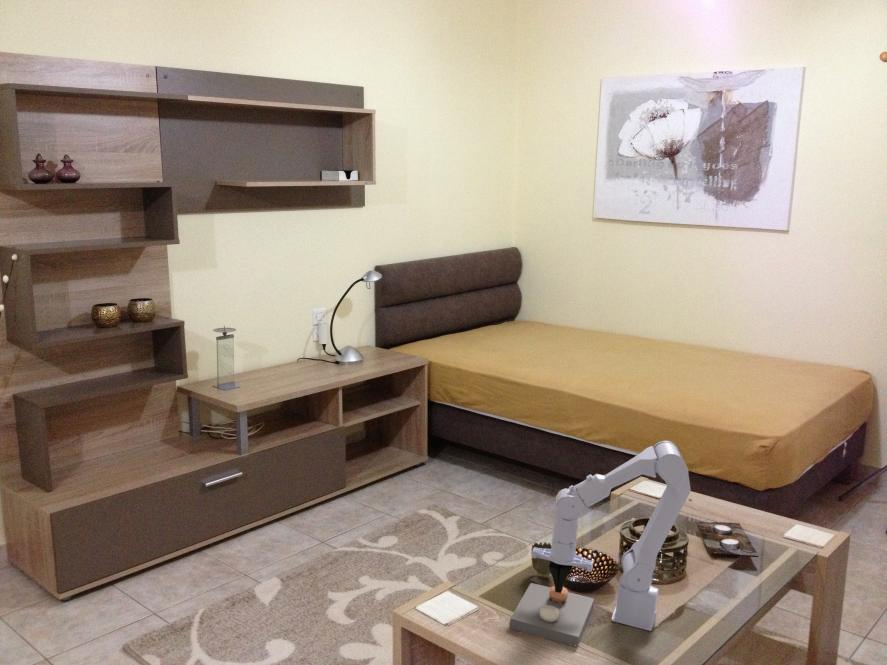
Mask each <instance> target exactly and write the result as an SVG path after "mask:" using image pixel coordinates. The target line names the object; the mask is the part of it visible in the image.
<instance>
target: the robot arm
mask: <svg viewBox="0 0 887 665" xmlns="http://www.w3.org/2000/svg"><path fill="white" fill-rule="evenodd" d="M656 474H658V476H659V477H660V478H661V479H662V480H663V481H664V482H665V485H666V487H665V489H664V491H663V492H662V495H661V496H660V499H659V500H658V503H657V504H656V507H655V508H654V510H653V512H652V514H651V515H650V518H649V520H648V522H647V523H646V526H645V527H644V529H643V531H642V533H641V535H640V537H639V539H638V541H636V542H634V543H633V544H632V545H631V547H630V549H628V550H627V551H626V552H624V554H622V557H621V560H620V563H621V567H622V570H623V572H622V574H621V576H619V581H618V582H619V583H618V590H617V598H616V605H615V607H614V609H613V613H612V616H611V619H610V621H611V622H614V623H619V624H623V625H627V626H630V627H634V628H638V629H642V630H646V631H653V626H654V622H655V620H656V619H657V613H658V612H657V605H658V599H659V591H660V590H659V588H657V587H655V586H653V585H652V583H653V573H654V571H655V569H656V566H657V557H658V554H659V552H660V550H661V548H662V547H663V545H664V543H665V541H666V539H667V536H668V535H669V533H670V531H671V530H672V528H673V526H674V524H675V522H676V519H677V518H678V516H679V514H680V512H681V510H682V508H683V507H684V505H685V503H686V501H687V499H688V497H689V496H690V493H691V484H690V477H689V468H688V466H687V464H686V463H685V460H684V457H683V456H682V453H681V452H680V449H679V448H678V447H677V445H676V444H675V443H674V442H672V441H670V440H661V441H659V442H656V443H655V444H654V445H651V446H648V447H646V448H645V449H643V450H642V451H641V452H640V453H639V454H637V455H635V456H634V457H632V458H631V459H629V460H628V461H626V462H624V463H623V464H620V465H619V466H617V467H615V469H613V470H611V471H610V472H608V473H606V474H599V473H595V474H594V475H592V474H588V475H587V476H586V479H584V480H583V481H581V482H579V483H577V484H575V485H570V486H568V488H567V487H566V488H563V489H560V490H559V491H558V492H557V494H556V496H555V497H554V501H555V509H556V511H555V515H554V520H553V528H552V538H551V549H542V548H536V547H534V549H533V550H532V551H531V559H532V558H540V559H545V560H549V561H550V565H549V570H550V572H551V573H550V575H551V576H552V579H553V584H554V585H553V586H555V592H558V593H561V592H562V589H563V587H564V585H565V582H566V579H567V578H568V576H569V575H570V573H571V571H572V569H573V567H575V568H578V569H582V570H586V571H587V572H589V573H592V570H593V569H594V568H593V567H594V561H593V560H589V559H588V558H585V557H583V556H580V555H577V554H576V549H577V538H578V531H579V530H578V529H579V517H580V516H581V515H582V511H583V510H585V509H587V508H589V507H591V506H593V505H595V504H596V503H598V502H601V501H602V500H604V499H606V498H608V497H609V496H610V495H611V494H610V493H611V490H612V489H613V488H615V487H618V486H620V485H623V484H624V483H627V482H628V481H631V480H633V479H635V478H637V477H639V476H641V475H645V476H646V477H647V476H648V477H651V478H657V475H656Z"/></svg>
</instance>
